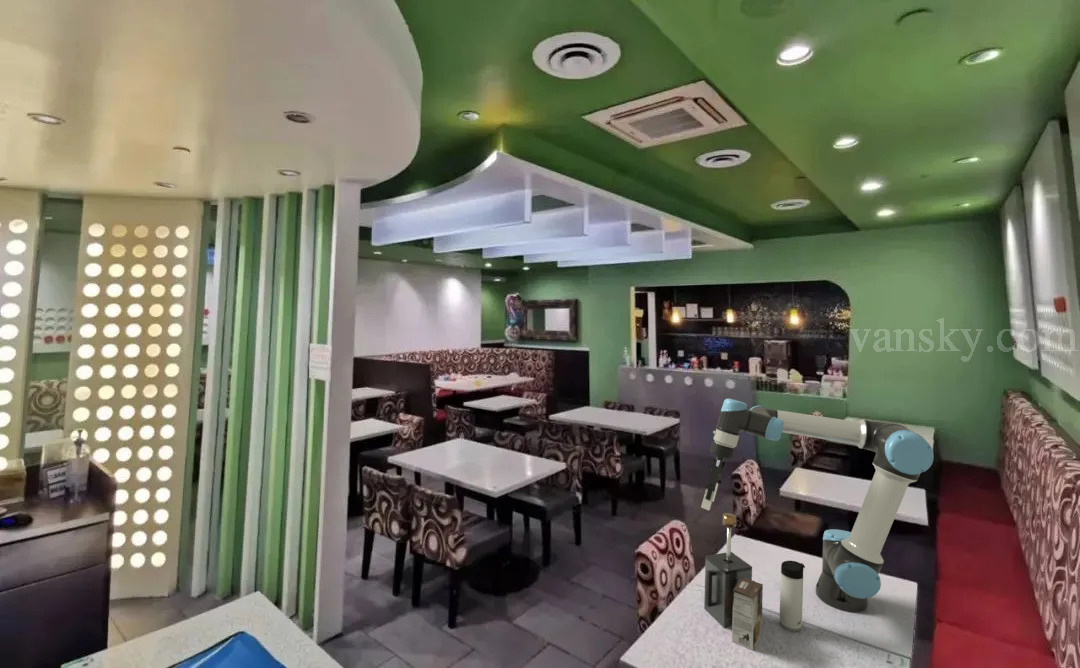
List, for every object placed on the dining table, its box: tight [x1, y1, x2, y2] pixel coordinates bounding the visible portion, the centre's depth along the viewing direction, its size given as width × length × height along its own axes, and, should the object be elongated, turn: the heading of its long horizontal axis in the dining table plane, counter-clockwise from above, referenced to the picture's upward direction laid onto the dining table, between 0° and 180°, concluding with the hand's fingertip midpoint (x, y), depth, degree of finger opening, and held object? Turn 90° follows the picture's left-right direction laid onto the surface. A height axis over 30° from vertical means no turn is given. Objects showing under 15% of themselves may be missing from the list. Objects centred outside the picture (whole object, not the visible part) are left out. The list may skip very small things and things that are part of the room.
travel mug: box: [778, 560, 806, 633], centre depth 151 cm, size 6×7×20 cm
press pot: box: [703, 551, 753, 629], centre depth 156 cm, size 13×10×18 cm
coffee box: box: [731, 577, 764, 651], centre depth 145 cm, size 9×6×16 cm
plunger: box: [722, 512, 737, 563], centre depth 156 cm, size 8×8×24 cm
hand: (707, 504), depth 164 cm, fingers open, 13 cm apart
